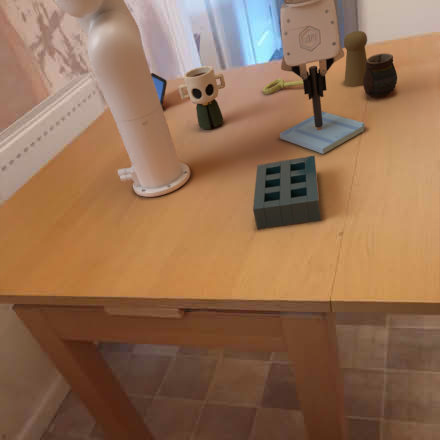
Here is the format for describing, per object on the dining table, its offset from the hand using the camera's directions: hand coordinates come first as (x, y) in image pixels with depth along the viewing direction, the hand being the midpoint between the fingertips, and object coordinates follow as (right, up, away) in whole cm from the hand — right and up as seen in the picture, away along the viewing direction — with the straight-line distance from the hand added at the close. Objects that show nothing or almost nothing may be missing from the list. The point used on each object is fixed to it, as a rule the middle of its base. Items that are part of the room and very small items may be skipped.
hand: (315, 95), depth 94 cm
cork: (+15, +12, +22) cm, 29 cm away
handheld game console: (-39, +14, +43) cm, 60 cm away
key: (-2, +14, +30) cm, 33 cm away
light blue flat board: (+2, -6, +5) cm, 8 cm away
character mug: (-21, +2, +23) cm, 31 cm away
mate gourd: (+17, +5, +13) cm, 22 cm away
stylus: (+2, -6, +5) cm, 8 cm away
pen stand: (-7, -23, -10) cm, 26 cm away
